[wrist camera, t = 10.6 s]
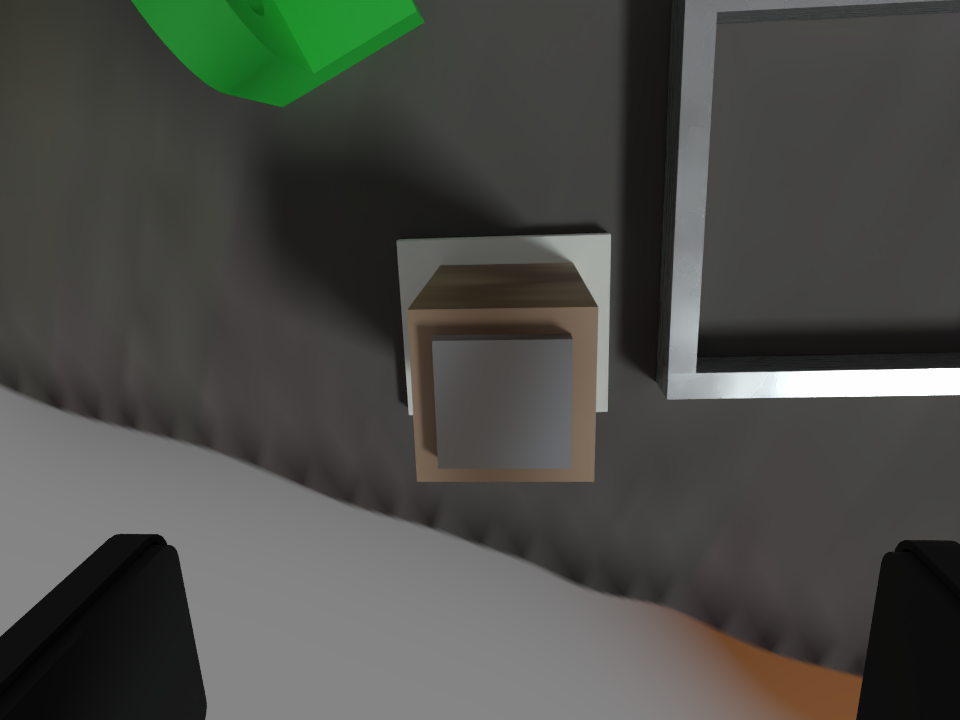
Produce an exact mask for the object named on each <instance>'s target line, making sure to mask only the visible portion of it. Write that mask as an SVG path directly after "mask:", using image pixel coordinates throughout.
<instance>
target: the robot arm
mask: <svg viewBox="0 0 960 720" xmlns="http://www.w3.org/2000/svg"><path fill="white" fill-rule="evenodd" d="M206 709H207V702H206V696H205V691H204V686H203V680H202V675H201V670H200V665H199V660H198V655H197V649H196V644H195V639H194V634H193V629H192V623H191V618H190V614H189V608H188V603H187V598H186V592H185V588H184V583H183V577H182V572H181V567H180V562H179V557H178V553H177V550H176V549H175V548H174V547H173V546H171V545H167V543H166V541H165V539H164V538H163V537H162V536H160V535H158V534H118V535H114V536H113V537H111V538H109V539H108V540H107V541H106V542H105V543H104V544H103V545H102V546H100V547H99V548H98V549H97V550H96V551H95V552H94V553H93V554H92V555H91V556H90V557H88V558H87V559H86V560H85V561H84V562H83V563H82V564H81V565H79V566H78V567H77V568H76V569H75V570H74V571H73V572H72V573H71V574H69V575H68V576H67V577H66V578H65V579H64V580H63V581H62V582H61V583H59V584H58V585H57V586H56V587H55V588H54V589H53V590H52V591H51V592H49V593H48V594H47V595H46V596H45V597H44V598H43V599H42V600H41V601H40V602H38V603H37V604H36V605H35V606H34V607H33V608H32V609H31V610H29V611H28V612H27V613H26V614H25V615H24V616H23V617H22V618H21V619H20V620H18V621H17V622H16V623H15V624H14V625H13V626H12V627H11V628H10V629H8V630H7V631H6V632H5V633H4V634H3V635H2V636H1V637H0V720H205V717H206ZM856 720H960V544H958V543H957V542H955V541H940V540H904V541H902V542H900V543H899V544H898V545H897V547H896V549H895V552H888V553H886V554H885V555H884V557H883V559H882V562H881V568H880V574H879V580H878V587H877V593H876V599H875V605H874V612H873V618H872V624H871V630H870V637H869V643H868V649H867V655H866V662H865V668H864V674H863V681H862V687H861V693H860V699H859V706H858V713H857V718H856Z"/></svg>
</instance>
